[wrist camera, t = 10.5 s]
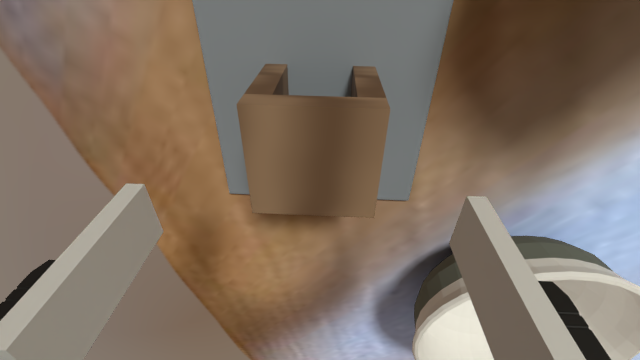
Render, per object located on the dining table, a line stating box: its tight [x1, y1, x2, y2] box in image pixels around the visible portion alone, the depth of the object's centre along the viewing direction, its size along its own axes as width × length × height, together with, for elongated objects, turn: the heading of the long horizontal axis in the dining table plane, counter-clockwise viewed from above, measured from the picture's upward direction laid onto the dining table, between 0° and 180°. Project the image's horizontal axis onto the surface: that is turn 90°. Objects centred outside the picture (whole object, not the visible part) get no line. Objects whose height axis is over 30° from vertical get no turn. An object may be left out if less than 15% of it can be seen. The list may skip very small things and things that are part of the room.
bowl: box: [412, 236, 640, 360], centre depth 29 cm, size 19×19×8 cm
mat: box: [192, 0, 453, 200], centre depth 23 cm, size 16×16×1 cm
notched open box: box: [236, 64, 390, 218], centre depth 20 cm, size 8×7×8 cm
